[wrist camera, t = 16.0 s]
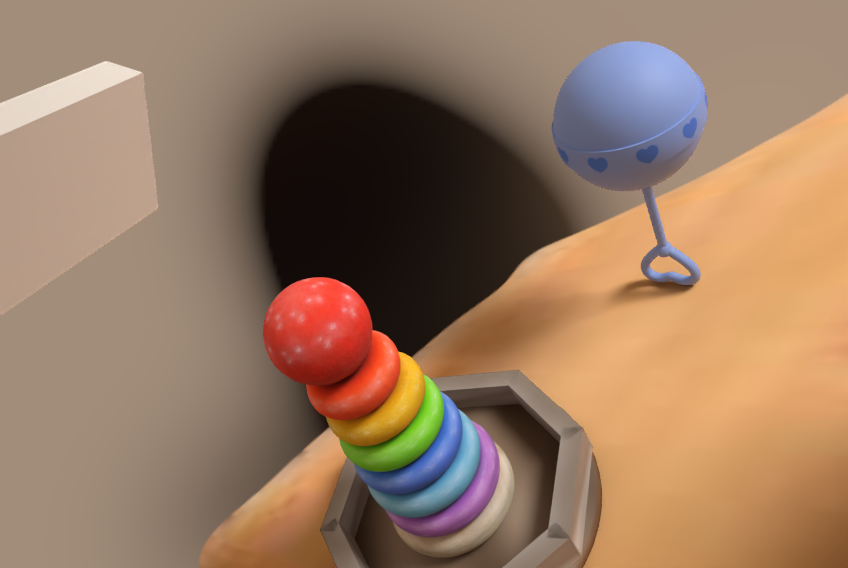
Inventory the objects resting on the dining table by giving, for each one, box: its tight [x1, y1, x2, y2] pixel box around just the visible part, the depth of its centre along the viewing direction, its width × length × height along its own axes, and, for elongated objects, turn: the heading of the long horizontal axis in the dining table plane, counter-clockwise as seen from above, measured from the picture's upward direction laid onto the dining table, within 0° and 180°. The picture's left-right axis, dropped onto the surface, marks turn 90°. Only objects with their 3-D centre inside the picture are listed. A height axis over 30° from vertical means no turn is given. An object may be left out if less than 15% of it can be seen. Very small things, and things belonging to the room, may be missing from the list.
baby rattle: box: [552, 41, 708, 285], centre depth 42 cm, size 9×9×18 cm
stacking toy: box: [263, 277, 514, 558], centre depth 37 cm, size 8×8×19 cm
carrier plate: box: [320, 370, 602, 568], centre depth 42 cm, size 17×17×3 cm
